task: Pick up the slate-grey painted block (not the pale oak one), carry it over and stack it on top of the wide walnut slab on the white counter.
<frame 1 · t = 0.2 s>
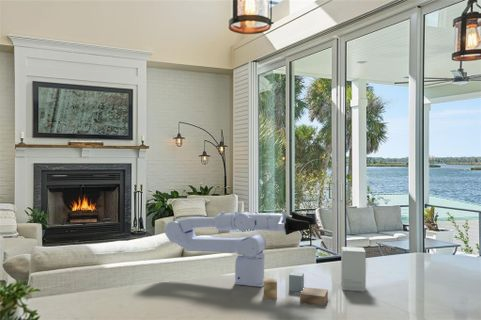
hand: (311, 223, 136), 21 cm above the kitchen counter, tool horizontal, fingers open, 7 cm apart
slate block: (296, 289, 135), on the kitchen counter
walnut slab: (314, 301, 124), on the kitchen counter
oak block: (270, 296, 128), on the kitchen counter
supplement box: (353, 288, 137), on the kitchen counter
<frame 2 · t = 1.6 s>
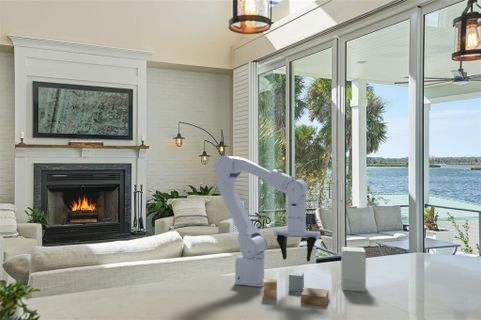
hand: (296, 259, 135), 9 cm above the kitchen counter, tool pointing down, fingers open, 7 cm apart
nothing on the kitchen counter moved.
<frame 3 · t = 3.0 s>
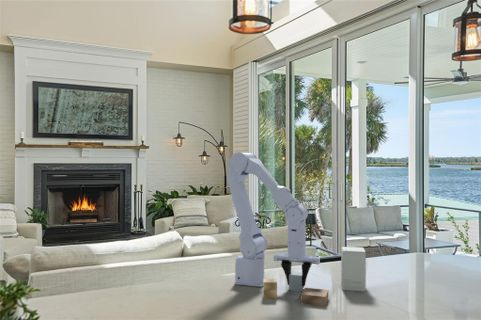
hand: (296, 284, 135), 1 cm above the kitchen counter, tool pointing down, fingers closed on slate block, 4 cm apart
slate block: (296, 289, 135), on the kitchen counter, touching gripper
everything else where it was.
when the fingers open (5 cm above the kitchen counter, at t = 5.4 s): slate block moves 1 cm, point 3 cm above the kitchen counter.
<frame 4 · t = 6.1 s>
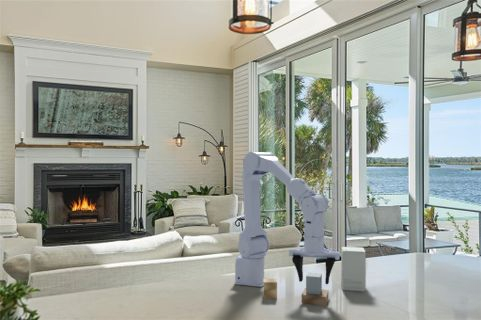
hand: (313, 282, 124), 5 cm above the kitchen counter, tool pointing down, fingers open, 7 cm apart
slate block: (313, 291, 124), point 3 cm above the kitchen counter
everything else where it was.
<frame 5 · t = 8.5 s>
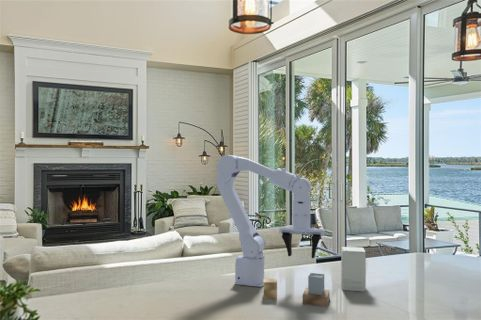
hand: (301, 256, 138), 10 cm above the kitchen counter, tool pointing down, fingers open, 7 cm apart
slate block: (316, 292, 124), point 3 cm above the kitchen counter, touching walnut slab
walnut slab: (316, 302, 124), on the kitchen counter, touching slate block
everything else where it was.
at the end: slate block 0.1 cm off-centre on the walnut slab, point 3.1 cm above the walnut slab's base; slate block tilted 1°; the gripper is holding nothing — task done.
